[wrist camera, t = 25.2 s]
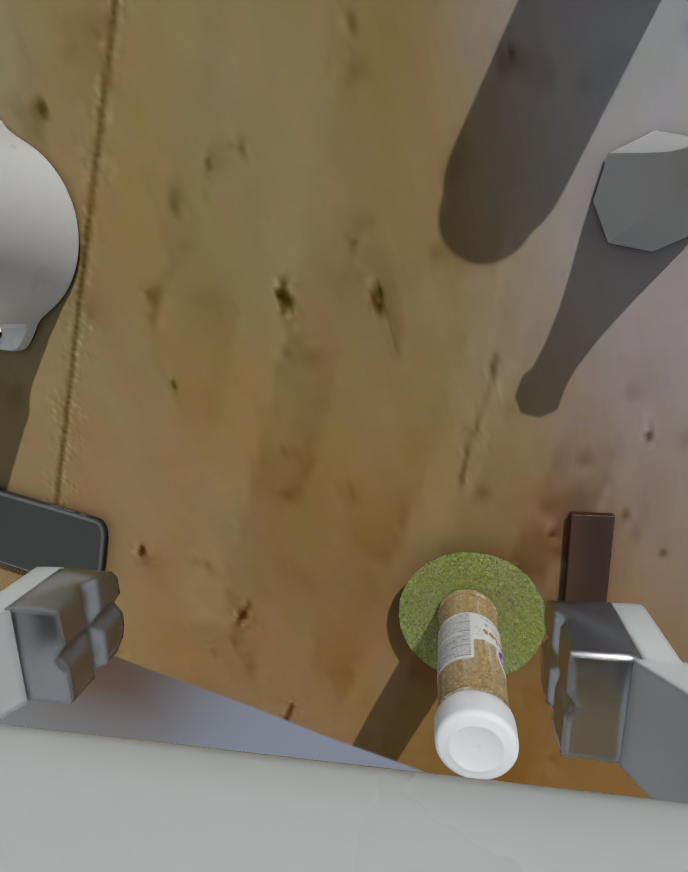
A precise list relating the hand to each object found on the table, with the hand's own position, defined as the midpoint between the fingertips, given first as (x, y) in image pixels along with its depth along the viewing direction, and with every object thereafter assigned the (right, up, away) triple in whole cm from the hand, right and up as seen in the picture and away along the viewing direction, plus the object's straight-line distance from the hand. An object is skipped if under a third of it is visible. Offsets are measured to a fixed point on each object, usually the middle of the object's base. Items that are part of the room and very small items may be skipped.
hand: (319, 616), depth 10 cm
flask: (+20, +19, +25) cm, 37 cm away
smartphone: (-28, -6, +40) cm, 49 cm away
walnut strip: (+19, -10, +32) cm, 39 cm away
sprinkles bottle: (+10, -10, +32) cm, 35 cm away
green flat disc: (+11, -10, +34) cm, 37 cm away
